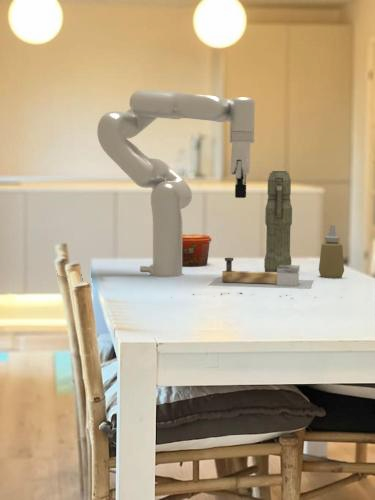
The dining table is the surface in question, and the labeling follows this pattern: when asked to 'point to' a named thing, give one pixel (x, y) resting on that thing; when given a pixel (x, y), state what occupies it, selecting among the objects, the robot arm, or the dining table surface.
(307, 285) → the base plate
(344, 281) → the dining table surface
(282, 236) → the olive green pillar
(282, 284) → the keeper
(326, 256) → the squeeze bottle
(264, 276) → the oak link
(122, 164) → the robot arm
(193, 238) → the food container
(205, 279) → the dining table surface
